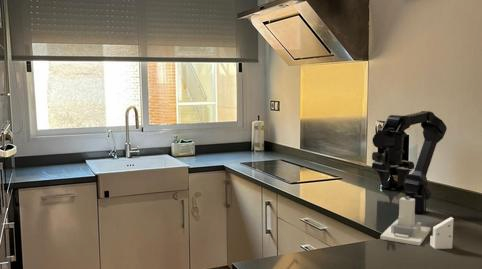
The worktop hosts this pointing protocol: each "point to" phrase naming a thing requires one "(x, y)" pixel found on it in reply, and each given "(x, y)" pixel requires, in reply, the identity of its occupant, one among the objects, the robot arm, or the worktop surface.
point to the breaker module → (406, 212)
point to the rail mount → (406, 233)
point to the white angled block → (442, 235)
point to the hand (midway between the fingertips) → (391, 187)
